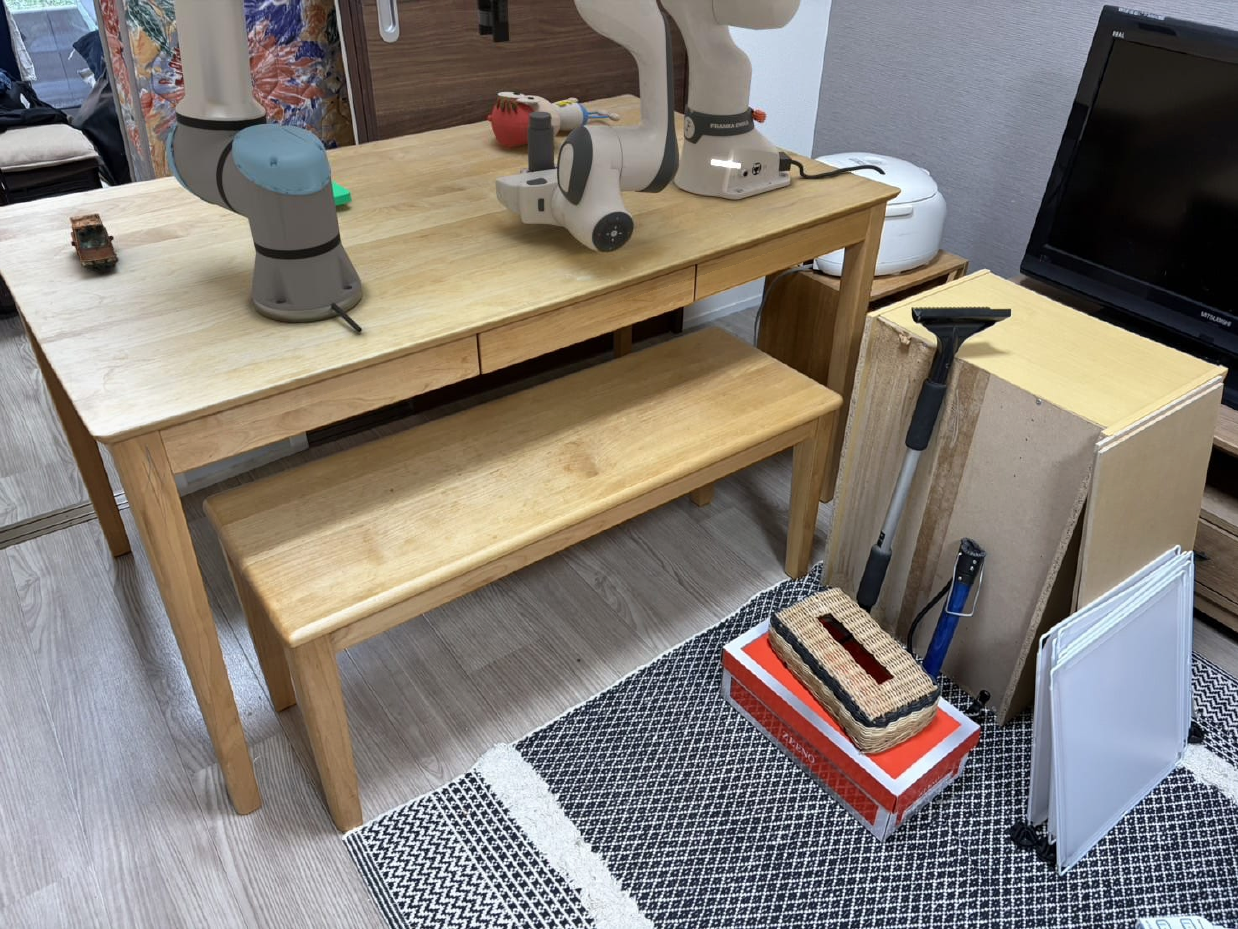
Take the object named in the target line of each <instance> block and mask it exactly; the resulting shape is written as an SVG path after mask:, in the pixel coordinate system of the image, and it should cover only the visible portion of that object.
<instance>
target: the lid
mask: <svg viewBox="0 0 1238 929" xmlns="http://www.w3.org/2000/svg"><path fill="white" fill-rule="evenodd" d="M509 18H510V17H508V22H509V23H510V19H509ZM477 19H478V25H479V24H481V25H484V26H492V10H491V6H483V7H480V8H478V7H477Z"/></svg>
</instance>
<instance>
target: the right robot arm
mask: <svg viewBox="0 0 1238 929" xmlns="http://www.w3.org/2000/svg"><path fill="white" fill-rule="evenodd" d="M659 1H660V3H661V5H662V7H663V8H664V9H665V11H666V12H667V13H668V14H669V15H670V16H671V18H672V19H673V20H674V22H675V24H676V25H677V27H678V30H679V31H680V34H681V36H682V38H683V42H684V44H685V48H686V53H687V59H688V91H687V92H688V93H687V94H688V95H687V103H686V104H685V106H684V107H685V108H684V115H683V144H682V150H681V156H680V149H679V143H678V138H677V132H676V122H675V118H676V117H675V93H674V92H675V91H674V63H673V45H672V35H671V34H672V33H671V27H670V22H669V19H668V17H667V15H666V14H665V13H664V12H663V11H662V10H661V9H659V6H658V3H657V0H573V3H574V5H575V7H576V10H577V12H578V14H579V15H580V17H581V19H583V22H585V23H586V25H587V26H589V27H590V28H591V29H592V30H593V31H595V32H596V33H598V34H600V35H601V36H602V37H603V36H604V37H605V38H608V39H609V40H611V41H613V42H615V43H617V44H618V45H620V46H621V47H623V48H625V49H626V50H628V52H629V53H630V54H631V55H632V56H633V58H634V60H635V63H636V65H637V67H638V68H637V69H638V80H639V81H638V82H639V83H638V84H639V101H640V120H639V122H638V123H637V124H636V125H608V124H606V125H605V124H601V125H600V124H597V125H596V124H595V125H594V124H593V125H591V124H590V125H584V126H578V127H576V128H575V129H574V130H572V131H570V132H569V133H568V135H567V136H566V137H565V139H564V141H563V143H562V144H561V146H560V148H559V151H558V156H557V162H556V163H554V169H551V170H543V171H536V172H532V170H531V169H529V168H528V167H524V168H519V173H516V174H509V175H501V176H498V177H497V178H496V180H495V195H496V196H495V197H496V199H497V201H498V202H499V203H500V205H502V206H503V207H504V208H505V209H507V210H508V211H509V212H511V213H512V214H515V215H519V217H520V221H521V222H522V223H523V224H529V225H530V224H531V225H537V224H538V225H540V224H542V225H551V226H557V227H563V228H565V229H566V230H567V231H568V232H569V234H571V235H572V237H573V238H575V239H576V240H577V241H578V242H580V243H581V244H582V245H584V246H585V247H587V248H589V249H591V250H592V251H595V252H598V253H610V252H615V251H617V250H619V249H621V248H622V247H623V246H625V245H626V244H628V242H629V241H630V239H631V238H632V236H633V234H634V230H635V221H634V219H633V218H634V217H633V216H632V214H631V213H630V211H629V209H628V208H627V207H626V206H625V203H624V201H623V198H622V194H621V193H622V192H625V193H626V192H635V193H645V194H659V193H661V192H662V191H664V189H666V188H667V187H668V186H669V184H671V183H672V181H673V182H674V184H675V185H676V186H677V187H678V188H679V189H681V190H683V191H686V192H689V193H692V194H696V195H702V196H707V197H718V198H724V199H728V200H736V201H737V200H741V199H744V198H748V197H752V196H755V195H759V194H762V193H766V192H769V191H774V190H776V189H780V188H784V187H787V186H789V185H791V177H790V175H789V174H788V173H787V172H790V171H791V168H792V165H794V166H796V167H798V169H799V176H800V177H801V178H803V179H806V180H817V179H822V178H827V177H834V176H836V175H840V174H843V173H847V172H854V171H855V172H856V171H860V170H873V171H875V172H877V173H879V174H880V175H882V176H884V175H886V172H885V171H884V170H883V169H882V168H881V167H879V166H878V165H874V164H862V165H861V164H860V165H855V166H849V167H841V168H838V169H835V170H832V171H828V172H822V173H818V174H812V175H811V174H807V173H805V172H804V165H803V164H802V162H800V161H798V160H795V159H793V158H792V157H791V156H790V155H789V154H787V153H786V152H785V151H779V150H778V148H777V147H776V145H775V144H774V143H772V141H770V140H769V139H768V138H767V137H766V136H765V135H764V134H762V133H761V132H760V131H759V130H758V129H757V128H756V127H755V122H757V123H758V124H764V123H765V122H766V120H767V114H766V112H765V111H762V110H760V109H754V108H752V107H751V106H749V104H750V95H751V84H752V75H753V67H752V66H753V65H752V63H751V59H750V58H749V56H748V54H747V53H746V52H745V51H744V50H742V49H741V47H739V46H738V45H737V44H736V42H735V41H734V39H733V37H732V35H731V33H730V29H729V27H734V28H740V29H746V30H753V31H762V30H765V31H766V30H777V29H783V28H785V27H786V26H788V24H789V23H790V22H791V21H792V20H793V19H794V17H795V15H796V14H797V12H798V10H799V7H800V5H801V0H659ZM754 121H755V122H754ZM870 289H871V292H872V291H873V288H870ZM867 312H868V310H867V311H866V314H868V313H867Z"/></svg>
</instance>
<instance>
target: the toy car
mask: <svg viewBox="0 0 1238 929" xmlns="http://www.w3.org/2000/svg"><path fill="white" fill-rule="evenodd" d="M69 221H70V224H71V226H70V227H71V230H72V231H71V232H70V236H71V241H70V243H71V244H70V245H71V246H72V247H74V248H75V252H76V254H77V257H79V258H80V259H79V262H81V267H82V268H84V269H85V268H86V269H92V268H99V271H100V273H101V274H105V273H106V269H105V267H111V266H113V265H115V264H117V263H118V262H119V261H120V260H119V258H118V255H117V253H116V252H115V248H114V244H113V242H112V241H114V240H115V238H114V235H109V232H108V230H107V228H106V226H105V225H104V224H103V221H102V219H101V217H100V214H99V213H89V214H84V215H76V216H71V217H69Z"/></svg>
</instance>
